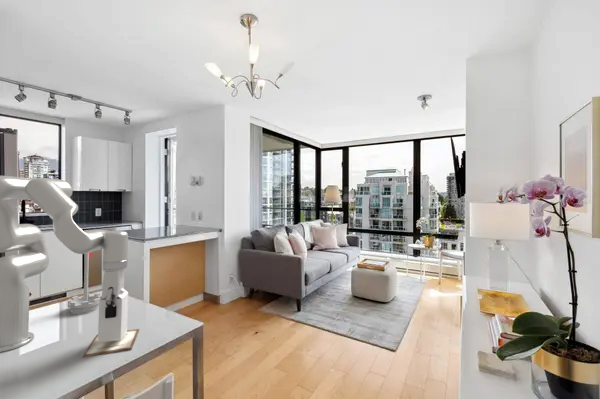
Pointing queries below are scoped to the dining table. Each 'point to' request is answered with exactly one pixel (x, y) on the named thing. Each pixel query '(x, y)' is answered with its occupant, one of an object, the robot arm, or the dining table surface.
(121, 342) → the clipboard
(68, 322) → the dining table surface
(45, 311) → the dining table surface
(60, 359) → the dining table surface
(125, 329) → the milk carton
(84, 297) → the flag stand
